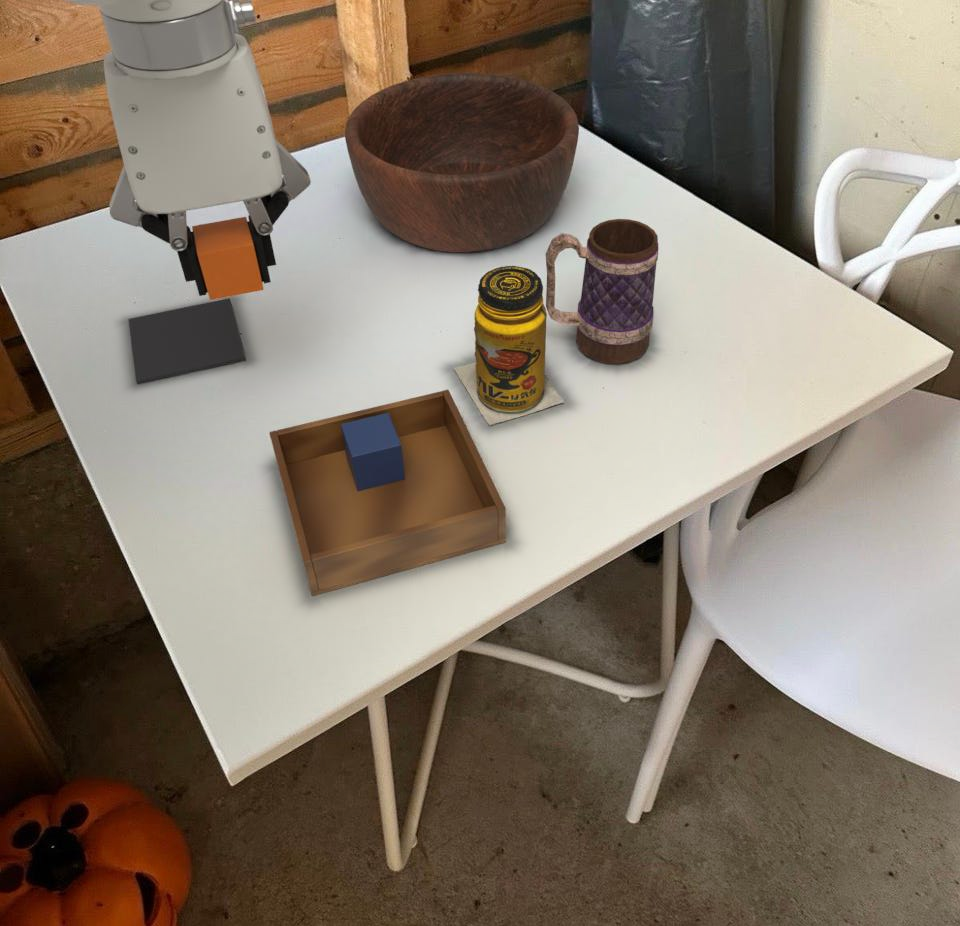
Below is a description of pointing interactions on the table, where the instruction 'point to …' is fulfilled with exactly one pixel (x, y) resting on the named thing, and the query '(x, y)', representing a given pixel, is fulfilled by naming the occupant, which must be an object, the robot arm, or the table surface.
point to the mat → (184, 340)
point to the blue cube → (373, 451)
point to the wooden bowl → (462, 158)
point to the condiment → (509, 347)
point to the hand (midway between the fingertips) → (232, 277)
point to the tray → (388, 495)
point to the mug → (610, 289)
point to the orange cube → (227, 258)
